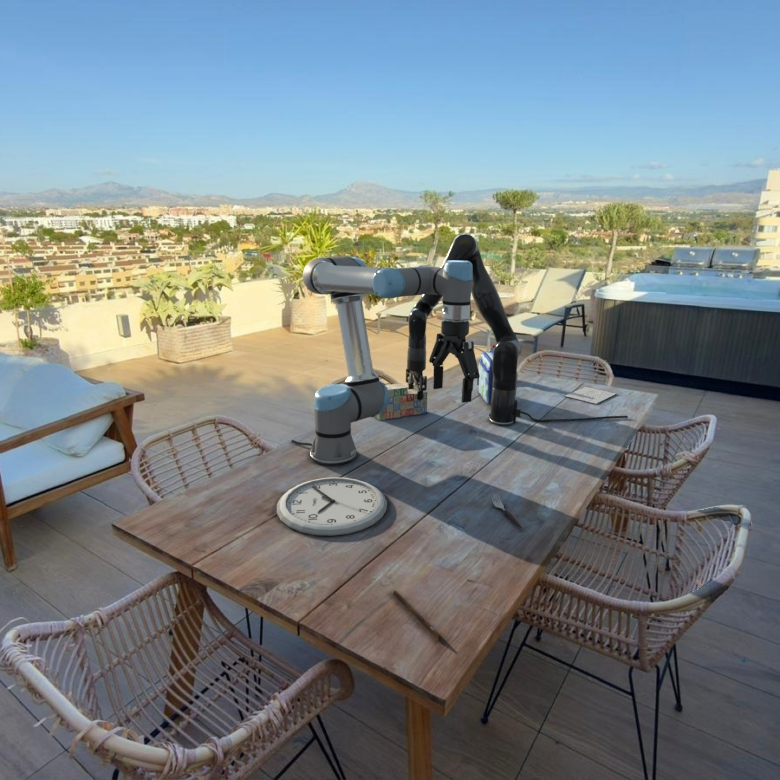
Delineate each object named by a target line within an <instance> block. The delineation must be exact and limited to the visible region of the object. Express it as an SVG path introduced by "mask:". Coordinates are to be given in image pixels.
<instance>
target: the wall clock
mask: <svg viewBox="0 0 780 780" xmlns="http://www.w3.org/2000/svg"><path fill="white" fill-rule="evenodd" d="M387 509H388V500H387V498H386V496H385V494H384V493H383V492H382V491H381V490H380V489H379V488H377V487H376V486H374V485H372V484H371V483H369V482H365V481H362V480H359V479H355V478H349V477H338V476H337V477H335V476H333V477H332V476H331V477H322V478H317V479H312V480H307V481H305V482H302V483H299V484H297V485H295V486H293V487H292V488H290V489H288V490H287V491H286V492H285V493H284V494H283V495H281V496H280V498H279V499H278V502H277V503H276V515H277V517H278V518H279V520H280V521H281V522H282V523H283V524H285V525H286V526H287V527H288V528H290V529H293V530H295V531H297V532H299V533H303V534H308V535H312V536H327V537H328V536H329V537H331V536H332V537H333V536H342V535H350V534H352V533H356V532H361V531H363V530H366V529H368V528H369V527H372V526H373V525H375V524H376V523H378V522H379V521H380V520H381V519H382V518H383V517H384V516H385V514H386V512H387Z"/></svg>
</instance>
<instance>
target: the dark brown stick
mask: <svg viewBox="0 0 780 780" xmlns="http://www.w3.org/2000/svg"><path fill="white" fill-rule="evenodd" d="M392 595H393V596H394V597H395V598H396V599H397V600H398V601H399V602H400V603H401V604H402V605H403V606H404V607H405V608H406V609H407V610H408V612H410V613H411V614H412V615H413V616H414V618H416V619H417V620H418V621H419V622H420V623H421V624H422V625H423V626H424V628H426V629H427V630H428V631H429V633H430V634H431V635H432V636H433V637H434V638H435V639H436V640H437V641H439V640H441V635H440V634H439V633H438V631H436V629H435V628H434V627H433V626H432V625H431V624H430V623H429V622H428V621H427V620H426V619H425V618H424V617H423V616H422V615H421V614H420V613H419V612H418V611H417V610H416V609H415V608H414V607H413V606H412V605H411V604H410V603H409V602H408V601H407V600H406V599H405V598H404V597H403V596H402V595H401V593H399V592H398V591H397V590H394V591H393V593H392Z"/></svg>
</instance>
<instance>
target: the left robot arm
mask: <svg viewBox="0 0 780 780" xmlns="http://www.w3.org/2000/svg"><path fill="white" fill-rule="evenodd" d="M472 280H473V268H472V263H471V262H469V261H456V260H452V261H446V262H445V264H444V267H443V268H442V267H441V266H433V265H428V264H423V265H422V264H421V265H415V266H408V267H382V266H381V267H380V266H367V264H366V263H365V261H363V260H362V259H361V258H359V257H357V256H348V255H347V256H346V255H345V256H330V257H328V256H327V257H325V256H324V257H317V258H314V259H312V260H310V261H309V262H307V264H306V265H305V266H304V269H303V271H302V281H303V285H304V286H305V287H306V289H307V290H309V292H312V293H313V294H316V295H329V296H330V297H329V298H330V301H331V302H332V303H333V304H335V306H336V310H337V311H336V312H337V316H338V322H339V328H340V334H341V340H342V346H343V352H344V358H345V364H346V370H347V377H346V379H345V380H344V384H343V383H335V384H333V383H332V384H328V385H324V386H322V387H320V388H319V389H317V391H316V392H315V394H314V396H313V397H314V400H313V408H314V437H313V440H312V443H310V442H302V441H301V442H300V441H297V440H294V439H291V443H293V444H296V445H300V446H301V445H302V446H311V447H310V449H309V450H310V451H309V457H310V459H311V461H312V462H314V463H316V464H319V465H323V466H341V465H345V464H349V463H351V462H353V461H354V460H355V459H356V458H357V448H356V447H357V446H356V444H355V442H354V438H353V436H352V424H353V423H355V422H358V421H361V420H365V419H368V418H373V417H375V416H376V415H378V414H381V413H382V412H384V411H385V409H386V408H387V406H388V403H389V392H388V389H387V387H386V386H385V385H386V383H385V382H384V381H381V380H380V376H379V375H378V374H377V373H376V372H374V367H373V362H372V361H373V360H372V354H371V349H370V348H371V347H370V343H369V337H368V330H367V329H368V328H367V324H366V317H365V311H364V306H363V300H364V298H365V297H366V295H370V296H371V295H372V296H378V297H379V298H381V299H396V298H402V297H412V296H414V297H415V296H422V295H424V294H434V295H441V296H443V297H442V302H441V303H442V310H441V318H442V320H441V325H440V333H437V334H436V338H435V343H434V345H433V348H432V351H431V354H430V356H429V359H428V362H429V363H430V364H432V367H433V385H432V386H433V388H432V389H433V390H439V389H443V385H444V384H443V383H444V362H445V361H446V359H447V358H448V356H449V355H450V354H451V355H453V356H454V357H455V358H456V359H457V361H458V363H459V366H460V368H461V371H462V374H463V376H464V377H463V378H462V387H461V403H464V404H465V403H469V402H472V397H473V396H472V394H473V390H474V380H475V379H478V378H479V377H480V375H479V365H478V362H477V358H476V353H475V346H474V345H475V344H474V341H472V340H471V341H467V339H466V337H467V336H468V335H469V333H470V324H471V323H470V321H469V320H470V319H471V306H472V301H471V298H472V293H471V290H472Z"/></svg>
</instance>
